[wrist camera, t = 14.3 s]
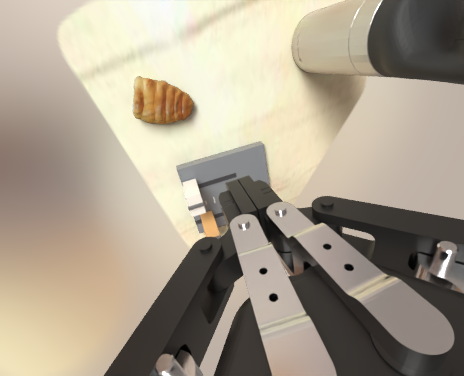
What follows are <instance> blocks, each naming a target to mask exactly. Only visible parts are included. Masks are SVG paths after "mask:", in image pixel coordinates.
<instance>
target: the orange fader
mask: <svg viewBox="0 0 464 376" xmlns="http://www.w3.org/2000/svg"><path fill="white" fill-rule="evenodd" d="M200 217H201V220H202V224H203V228H204V232H205V235H206V237H215V238H217V239H219V238H221V236H220V234H219V230H218V227H217V224H216V221H215V219H214V216H213V213H212V210H211V211H208V212H206V213H204V214H200Z"/></svg>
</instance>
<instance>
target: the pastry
mask: <svg viewBox="0 0 464 376" xmlns="http://www.w3.org/2000/svg"><path fill="white" fill-rule="evenodd" d="M192 108H193V101H192V99H191V98H190V96H189V95H188V94H187V93H185V92H183V91H181V90H180V89H179V88H177V87H175V86H172V85H170V84H168V83H167V82H165V81H157V80H152V79H148V78H142V77H140V76H138V77H136V79H135V80H134V100H133V114H134V116H135V117H136V118H137V119H141V120H143V121H145V122H148V123H159V124H164V123H171V122H175V121H178V120H184V119H186V118H187V117H188V116H189V115H190V114H191V112H192Z"/></svg>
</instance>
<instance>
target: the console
mask: <svg viewBox="0 0 464 376" xmlns="http://www.w3.org/2000/svg"><path fill="white" fill-rule="evenodd" d="M176 167H177V171H178V174H179V177H180V180H181V183H182V182H185V181H189V180H192V179H196V182H197V185H198V188H199V191H200V194H201V198H202V201H203V203H204V207H205V211H206V212H208V211H211V210H212V213H213V216H214V219H215V221H216V224H217V227H220V226H223V225H226V221H225V219H224V216H223V212H222V209H221V206H220V202H219V199H218V198H219V194H220V193H222V192H225V191H227V188H226V184H225V183H226V182H229V181H232V180H235V179H238V178H241V177H244V176H247V175H249V176H250V177H251V178H252V180H253V181H254V182H255V181H257V180H261V181H263V182H266V183H267V184H268V185H269V178H268V171H267V164H266V156H265V149H264V144H263V143H262V142H256V143H253V144H249V145H246V146H243V147H239V148H236V149H232V150H229V151H226V152H222V153H219V154H215V155H212V156H209V157H205V158H202V159H198V160H195V161H192V162H188V163H185V164H181V165H178V166H176ZM182 185H183V183H182ZM269 187H270V186H269ZM194 219H195V222H196V225H197V227H198V230H199V233H203V232H204V228H203V224H202V220H201V217H200V215H197V216H194Z"/></svg>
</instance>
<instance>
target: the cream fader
mask: <svg viewBox="0 0 464 376" xmlns="http://www.w3.org/2000/svg"><path fill="white" fill-rule="evenodd" d="M182 183H183V188H184V194H185V199H186V201H187V204H188V208H189V211H190V212H191V215H192V217H194V216H197V215H200V214H204V213H206V211H205V207H204V203H203V201H202V198H201V194H200V191H199V188H198V185H197V182H196V179H192V180H189V181H185V182H182Z"/></svg>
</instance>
